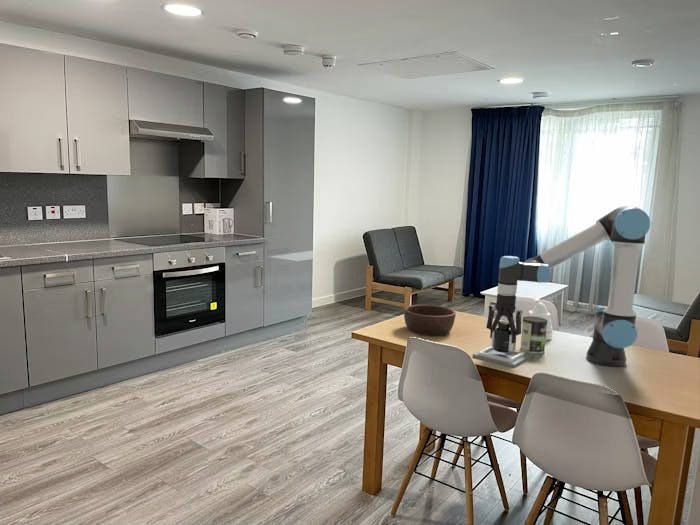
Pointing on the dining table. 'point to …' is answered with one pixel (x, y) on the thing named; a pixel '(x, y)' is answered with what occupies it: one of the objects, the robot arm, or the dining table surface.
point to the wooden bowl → (429, 319)
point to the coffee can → (533, 335)
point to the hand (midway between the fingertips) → (502, 348)
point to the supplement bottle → (502, 337)
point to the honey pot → (542, 316)
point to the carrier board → (504, 356)
